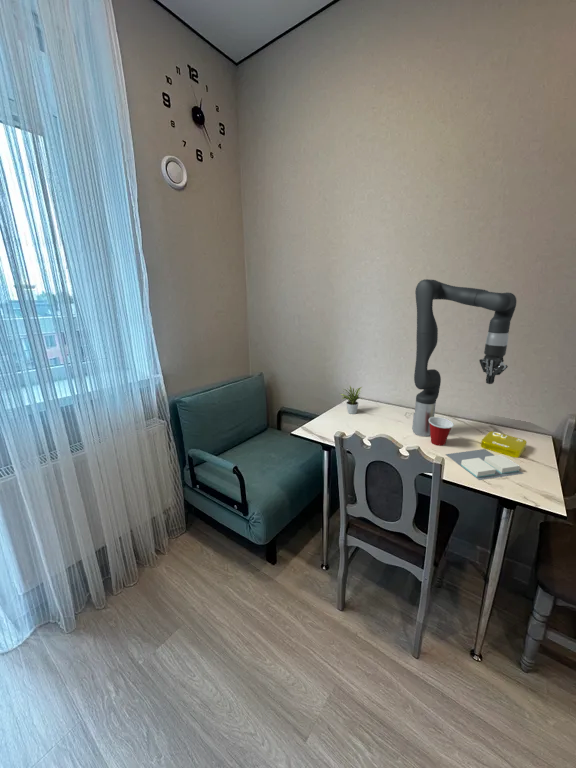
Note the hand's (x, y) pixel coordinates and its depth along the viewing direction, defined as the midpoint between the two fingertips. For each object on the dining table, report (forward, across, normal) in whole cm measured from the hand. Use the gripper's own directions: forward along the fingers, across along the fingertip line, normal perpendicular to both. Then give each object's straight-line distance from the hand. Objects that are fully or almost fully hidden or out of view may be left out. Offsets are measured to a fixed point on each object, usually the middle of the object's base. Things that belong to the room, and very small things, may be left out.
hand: (489, 383), depth 135 cm
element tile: (+33, +1, +12) cm, 35 cm away
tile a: (+30, +10, -13) cm, 34 cm away
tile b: (+30, +10, -2) cm, 32 cm away
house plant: (+32, -57, -38) cm, 76 cm away
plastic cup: (+32, -9, -14) cm, 36 cm away
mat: (+32, +11, -8) cm, 35 cm away
